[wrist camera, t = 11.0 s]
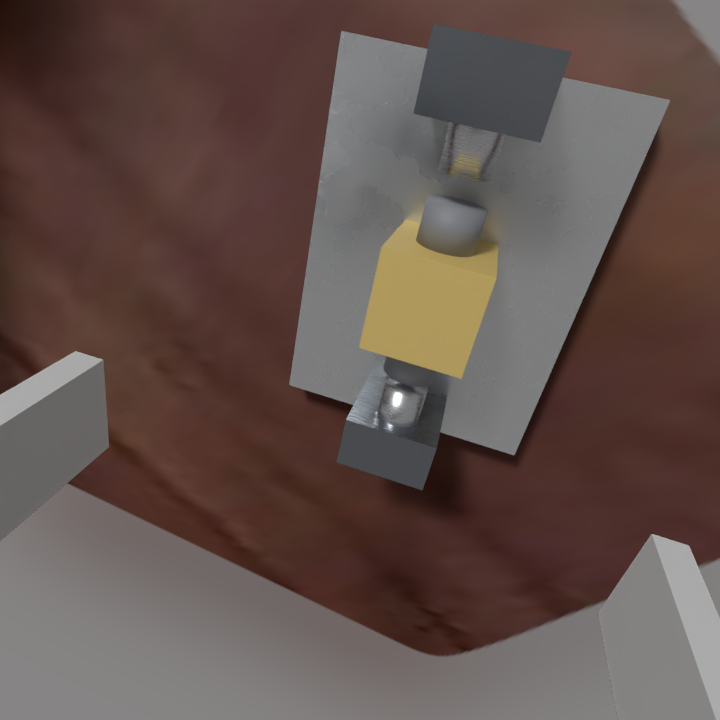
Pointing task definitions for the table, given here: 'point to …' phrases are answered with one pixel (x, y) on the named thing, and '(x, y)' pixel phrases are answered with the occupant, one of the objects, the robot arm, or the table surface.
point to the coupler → (431, 292)
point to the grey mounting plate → (502, 226)
